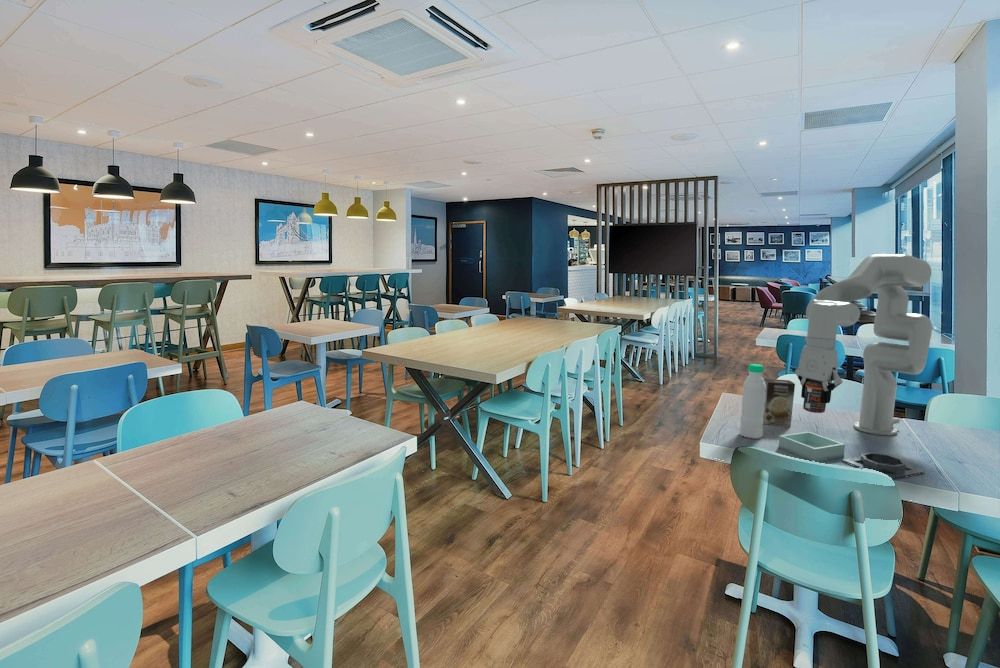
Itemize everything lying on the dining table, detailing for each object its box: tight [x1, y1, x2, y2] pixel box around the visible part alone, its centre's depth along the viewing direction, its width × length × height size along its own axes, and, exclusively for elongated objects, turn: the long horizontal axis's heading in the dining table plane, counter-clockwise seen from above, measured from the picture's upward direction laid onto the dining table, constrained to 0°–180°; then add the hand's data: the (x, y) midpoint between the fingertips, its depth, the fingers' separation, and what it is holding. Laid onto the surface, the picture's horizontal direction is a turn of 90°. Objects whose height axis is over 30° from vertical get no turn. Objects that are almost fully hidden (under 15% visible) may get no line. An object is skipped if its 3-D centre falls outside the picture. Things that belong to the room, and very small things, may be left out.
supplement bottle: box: [802, 379, 827, 414], centre depth 160 cm, size 6×6×11 cm
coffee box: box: [763, 378, 796, 427], centre depth 191 cm, size 9×6×16 cm
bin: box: [778, 431, 846, 462], centre depth 163 cm, size 13×13×4 cm
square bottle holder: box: [841, 452, 925, 481], centre depth 151 cm, size 14×14×2 cm
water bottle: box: [739, 363, 766, 440], centre depth 176 cm, size 7×7×25 cm
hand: (815, 399), depth 161 cm, fingers closed on supplement bottle, 6 cm apart
